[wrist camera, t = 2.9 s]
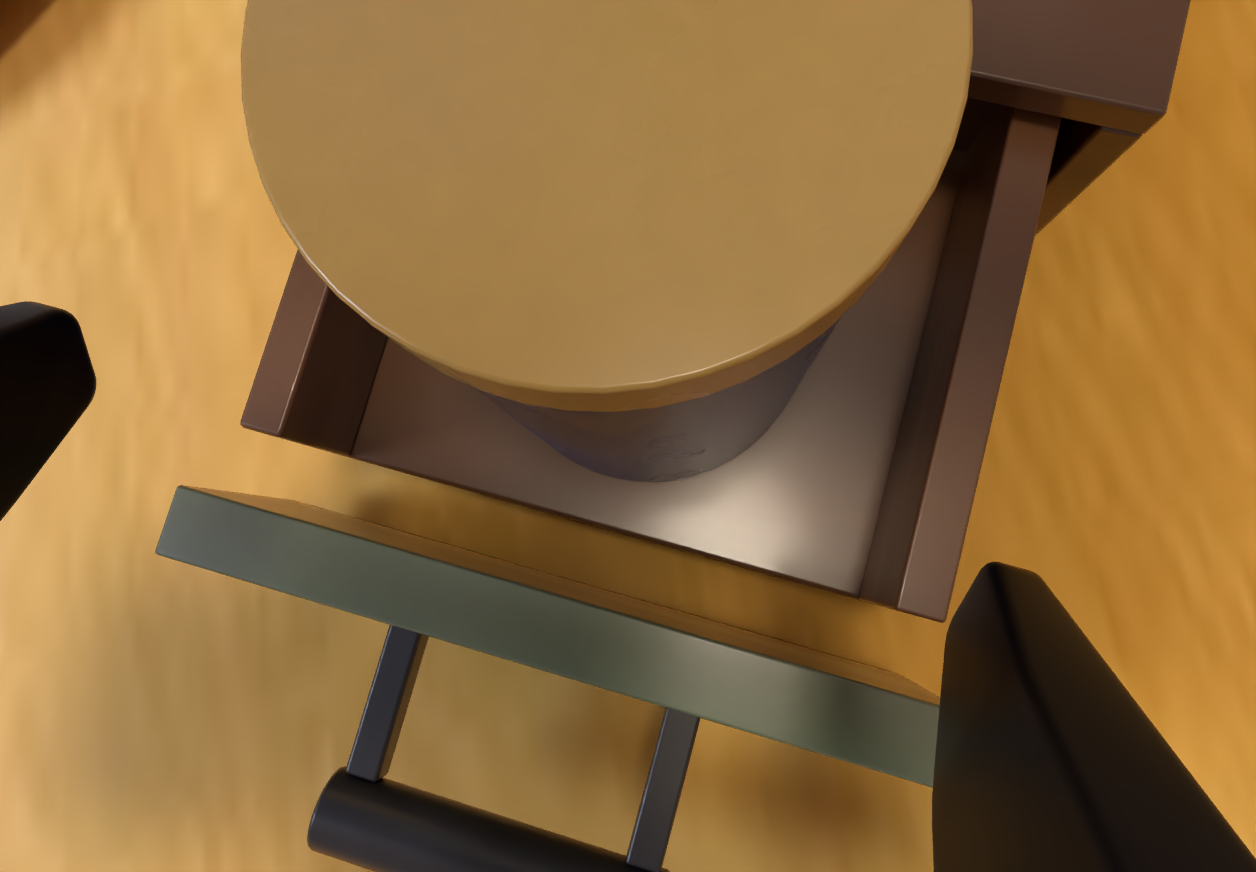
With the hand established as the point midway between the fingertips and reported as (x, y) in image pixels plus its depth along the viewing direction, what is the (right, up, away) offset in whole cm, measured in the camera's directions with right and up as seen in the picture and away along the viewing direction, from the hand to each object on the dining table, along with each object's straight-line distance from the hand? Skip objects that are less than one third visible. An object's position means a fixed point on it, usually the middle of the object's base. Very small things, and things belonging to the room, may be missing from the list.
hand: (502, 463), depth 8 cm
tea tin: (+2, +2, +9) cm, 10 cm away
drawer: (+1, 0, +10) cm, 10 cm away
